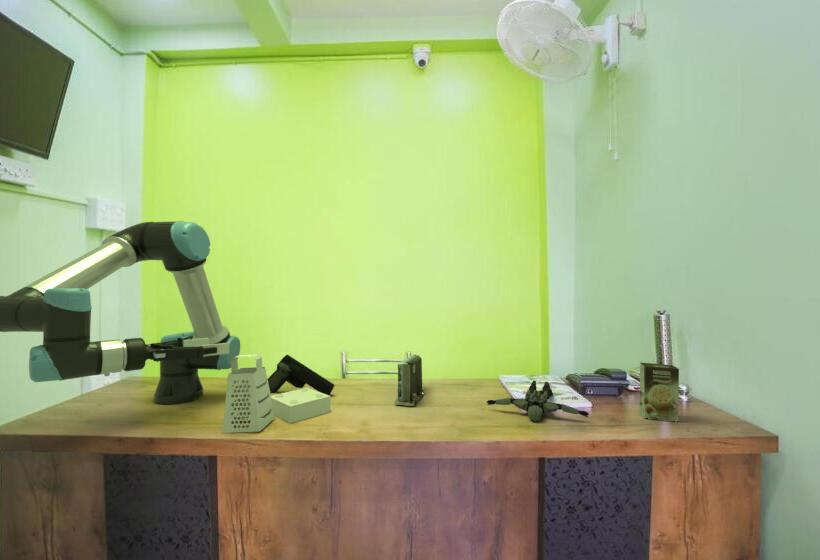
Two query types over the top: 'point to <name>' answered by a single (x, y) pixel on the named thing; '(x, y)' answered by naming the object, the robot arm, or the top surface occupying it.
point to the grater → (247, 397)
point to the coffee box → (659, 391)
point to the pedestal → (300, 404)
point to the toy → (537, 403)
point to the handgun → (297, 377)
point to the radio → (409, 381)
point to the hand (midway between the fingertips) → (218, 345)
